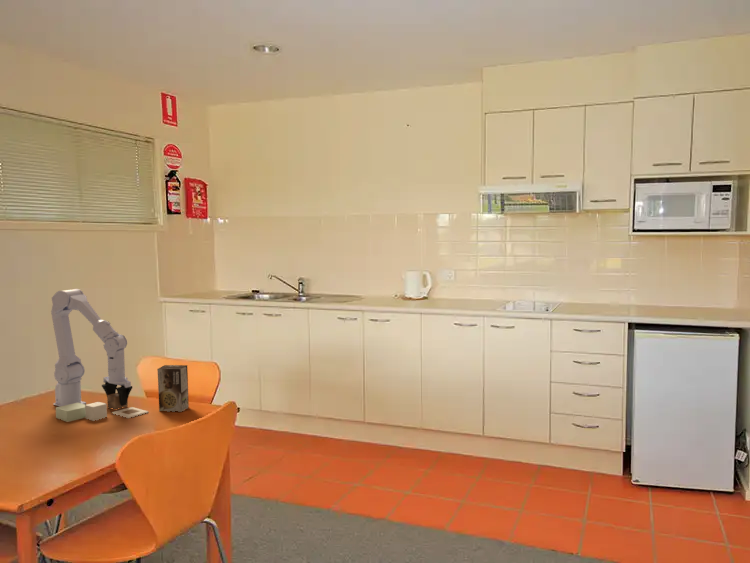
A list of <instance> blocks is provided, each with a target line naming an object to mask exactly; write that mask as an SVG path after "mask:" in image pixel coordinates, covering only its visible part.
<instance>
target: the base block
mask: <svg viewBox="0 0 750 563" xmlns="http://www.w3.org/2000/svg"><path fill="white" fill-rule="evenodd" d="M85 405H86V404H81V403H74V404H69V405H65V406H56V407H55V418H56V419H58V420H60V419H61V421H64V422H66V423H68V422H69V423H70V422H73V421H77V420H81V419H86V415H85Z"/></svg>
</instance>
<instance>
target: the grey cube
mask: <svg viewBox="0 0 750 563" xmlns="http://www.w3.org/2000/svg"><path fill="white" fill-rule="evenodd" d="M84 405H85V415H86V417H85V419H86V420H88V419H89V421H91V422H94V421H95V420H96V421H99V419H100V420H102V418H103V419H106V418H105V417H107V418H108V403H105V402H102V401H101V402H100V401H96V402H92V403H86V404H84ZM96 421H95V422H96Z"/></svg>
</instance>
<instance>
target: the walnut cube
mask: <svg viewBox="0 0 750 563" xmlns="http://www.w3.org/2000/svg"><path fill="white" fill-rule="evenodd" d="M106 397H107V398H106V399H107V400H106V401H107V408H108V407H109V408H108V409H110V408H113V409H118V408H122V407H125V408H128V407H129V406H128V405H129V404H128V400H129V399H128V400H127V405H124V406H121V405H120V401H119V395H118V392H116V393H114V394H110V395H106ZM127 406H128V407H127ZM113 409H112V410H113ZM122 409H123V408H122ZM118 410H119V409H118Z"/></svg>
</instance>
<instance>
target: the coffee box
mask: <svg viewBox="0 0 750 563" xmlns="http://www.w3.org/2000/svg"><path fill="white" fill-rule="evenodd" d="M188 374H189V373H188V365H185V364H184V365H183V364H180V365H179V364H175V365H174V364H170V365H169V364H164V365H162V366H160V367H159V368H157V384H158V386H157V387H158V388H157V390H158V412H160V411H167V412H168V413H169V412H170V411H172V413H173V412H175V411H178V412H179V413H183V412H184V411H186V410H187V409H189V408H190V407H189V406H190V405H189V402H190V401H189V379H188V378H189V376H188ZM188 407H189V408H188ZM185 409H186V410H185ZM182 411H183V412H182ZM167 412H166V413H167ZM170 413H171V412H170ZM175 413H176V412H175Z"/></svg>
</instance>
